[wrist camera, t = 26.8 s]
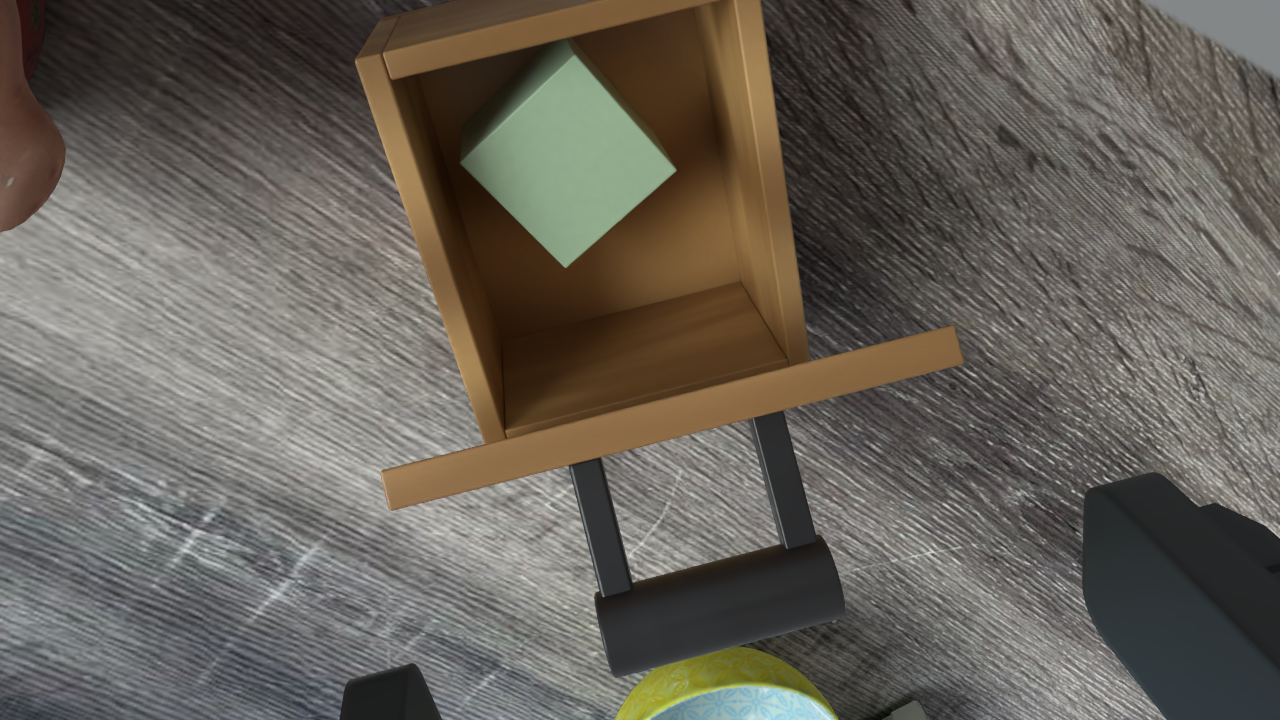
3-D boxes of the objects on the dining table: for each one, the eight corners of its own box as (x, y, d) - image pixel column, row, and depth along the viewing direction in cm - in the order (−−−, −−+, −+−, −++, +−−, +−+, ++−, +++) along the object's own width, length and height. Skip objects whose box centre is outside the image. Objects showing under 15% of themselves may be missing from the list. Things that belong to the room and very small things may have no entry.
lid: (378, 471, 19) (444, 748, 19) (955, 324, 19) (1030, 593, 19) (485, 451, 33) (523, 608, 33) (814, 367, 34) (855, 521, 33)
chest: (378, 18, 34) (353, 59, 27) (701, -60, 34) (756, -38, 27) (486, 353, 40) (488, 456, 34) (757, 285, 41) (813, 373, 34)
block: (563, 28, 34) (575, 53, 30) (654, 132, 36) (678, 170, 32) (461, 124, 35) (458, 163, 31) (555, 220, 37) (566, 269, 33)
